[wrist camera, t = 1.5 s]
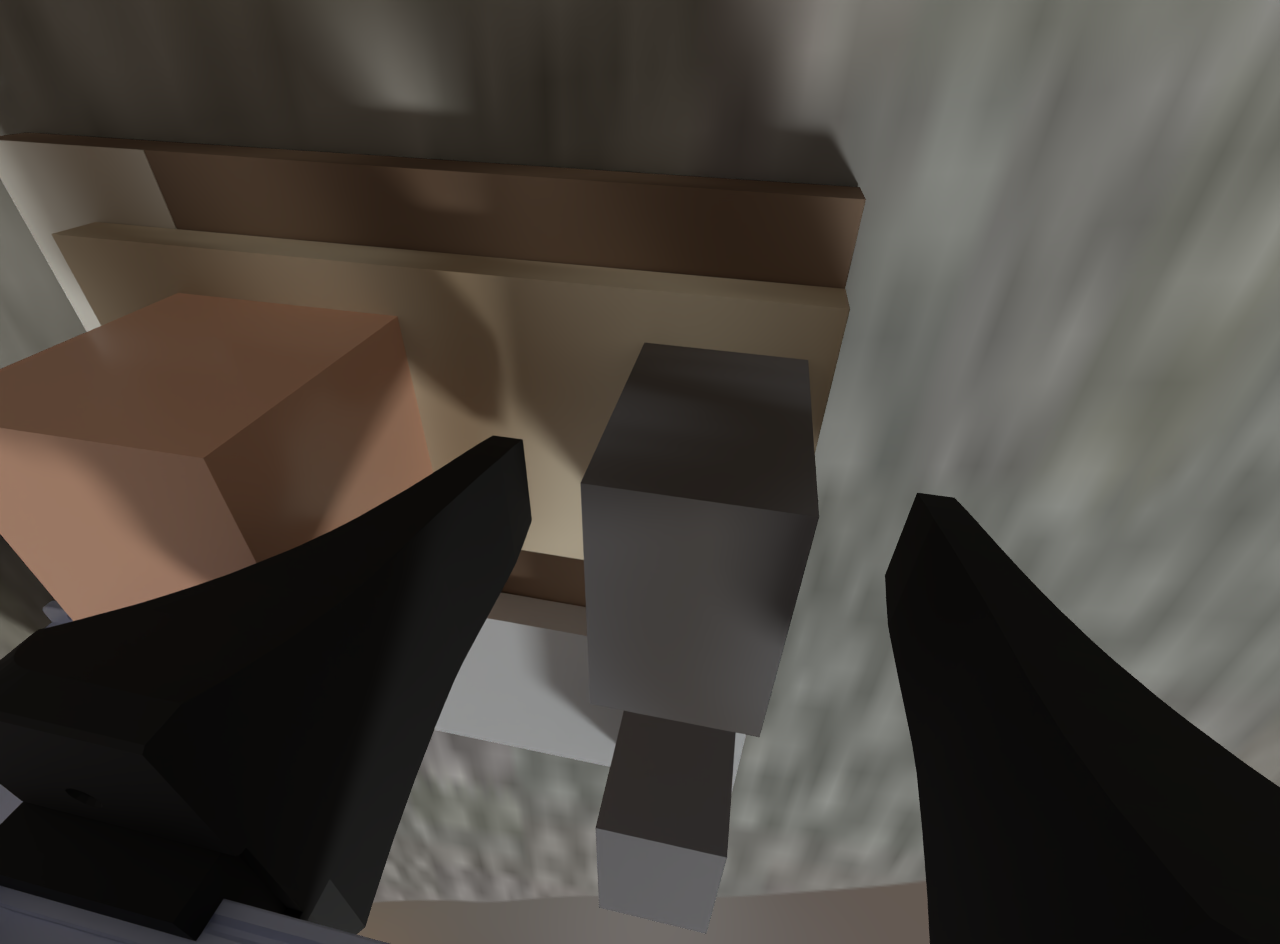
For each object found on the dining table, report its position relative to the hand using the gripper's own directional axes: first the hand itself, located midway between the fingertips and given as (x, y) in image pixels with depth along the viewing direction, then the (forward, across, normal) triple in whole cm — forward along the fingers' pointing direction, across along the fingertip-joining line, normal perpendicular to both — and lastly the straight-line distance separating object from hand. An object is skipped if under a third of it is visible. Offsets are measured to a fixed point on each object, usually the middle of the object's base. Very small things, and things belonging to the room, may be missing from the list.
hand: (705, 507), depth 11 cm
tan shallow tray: (+2, +6, 0) cm, 6 cm away
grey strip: (+2, +6, +10) cm, 12 cm away
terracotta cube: (+2, +9, 0) cm, 9 cm away
